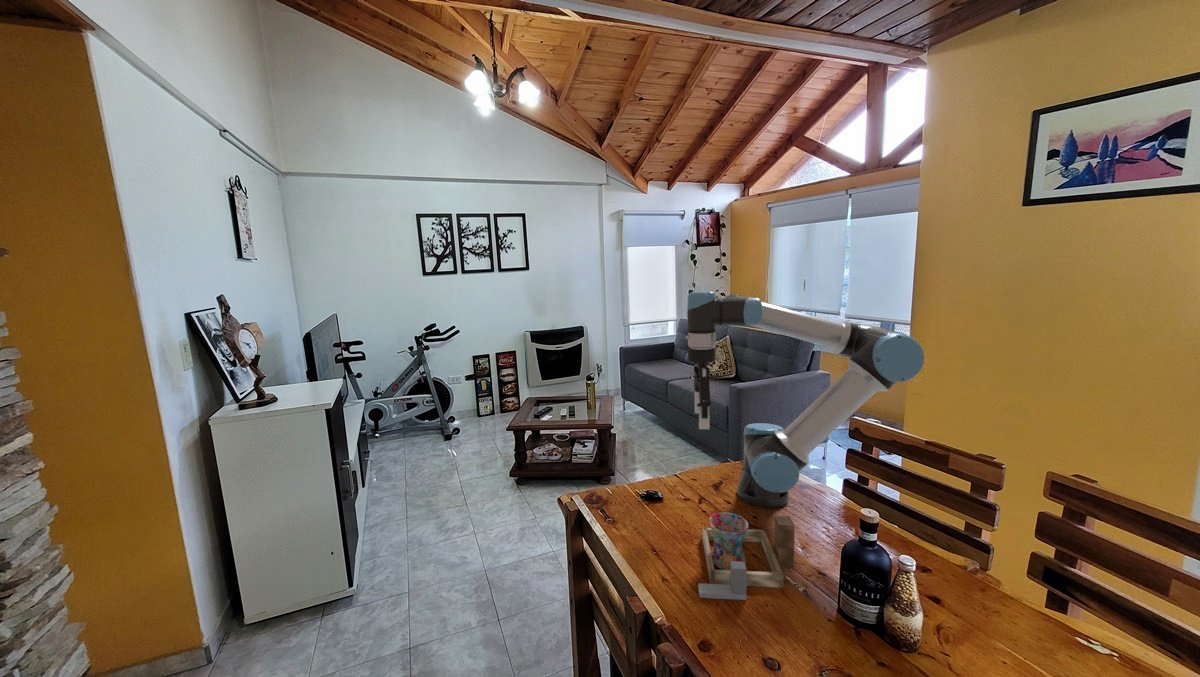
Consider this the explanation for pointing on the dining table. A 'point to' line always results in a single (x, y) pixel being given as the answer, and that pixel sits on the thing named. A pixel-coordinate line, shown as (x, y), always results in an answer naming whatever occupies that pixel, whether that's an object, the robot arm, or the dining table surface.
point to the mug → (727, 539)
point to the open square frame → (776, 558)
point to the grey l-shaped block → (728, 591)
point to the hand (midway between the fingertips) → (701, 420)
